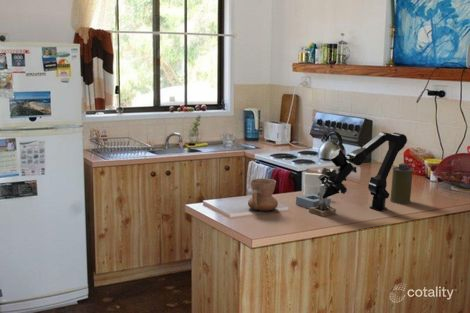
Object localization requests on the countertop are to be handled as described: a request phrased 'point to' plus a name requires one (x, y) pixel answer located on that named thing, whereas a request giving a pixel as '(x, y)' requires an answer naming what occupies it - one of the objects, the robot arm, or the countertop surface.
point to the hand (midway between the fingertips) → (320, 196)
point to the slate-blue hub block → (309, 200)
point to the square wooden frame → (322, 213)
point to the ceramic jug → (263, 194)
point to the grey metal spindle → (322, 201)
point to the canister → (401, 184)
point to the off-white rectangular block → (312, 183)
